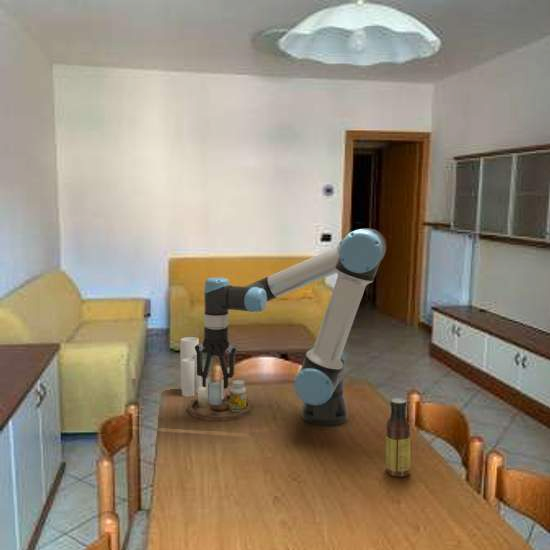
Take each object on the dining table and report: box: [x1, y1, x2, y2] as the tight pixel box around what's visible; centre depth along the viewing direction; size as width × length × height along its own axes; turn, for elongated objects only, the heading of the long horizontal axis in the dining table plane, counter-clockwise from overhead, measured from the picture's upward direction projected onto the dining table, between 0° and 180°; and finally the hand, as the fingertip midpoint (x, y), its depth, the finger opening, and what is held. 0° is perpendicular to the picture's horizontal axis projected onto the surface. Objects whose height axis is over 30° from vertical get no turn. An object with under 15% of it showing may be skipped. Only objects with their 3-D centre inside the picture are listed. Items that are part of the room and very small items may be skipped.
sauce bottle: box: [385, 397, 411, 478], centre depth 145 cm, size 7×6×20 cm
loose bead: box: [208, 382, 222, 405], centre depth 179 cm, size 4×4×6 cm
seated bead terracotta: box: [222, 388, 228, 402], centre depth 192 cm, size 4×4×6 cm
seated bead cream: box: [197, 385, 211, 408], centre depth 189 cm, size 4×4×6 cm
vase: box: [179, 336, 203, 398], centre depth 201 cm, size 11×7×20 cm, turn 16°
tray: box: [186, 393, 253, 422], centre depth 186 cm, size 21×21×3 cm
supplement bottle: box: [229, 379, 247, 412], centre depth 185 cm, size 5×5×10 cm
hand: (215, 397), depth 179 cm, fingers closed on loose bead, 4 cm apart
